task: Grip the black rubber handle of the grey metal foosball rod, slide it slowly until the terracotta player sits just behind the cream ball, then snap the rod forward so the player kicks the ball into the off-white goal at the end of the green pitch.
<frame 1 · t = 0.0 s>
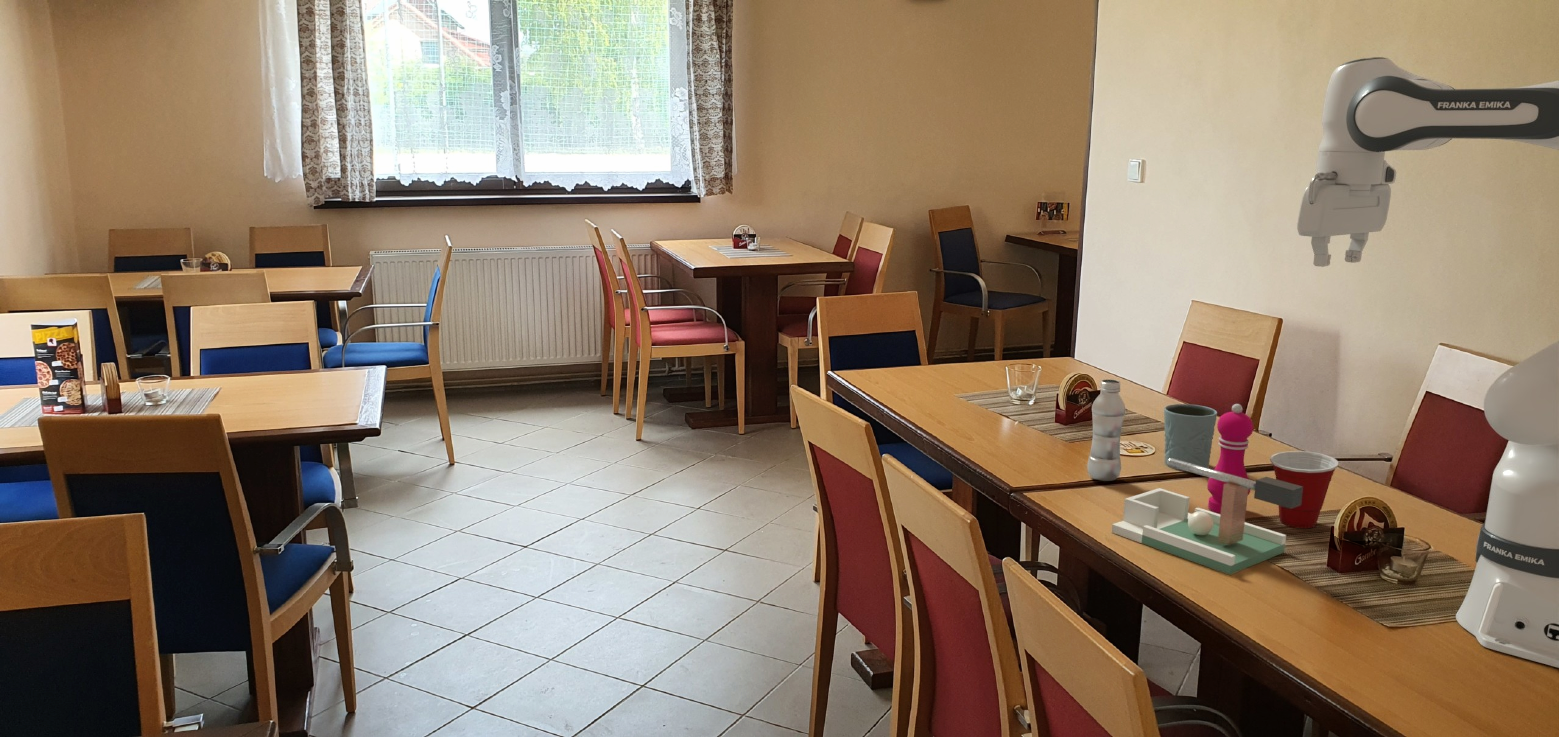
hand: (1337, 264, 162), 48 cm above the table, fingers open, 8 cm apart
ball: (1200, 523, 179), point 3 cm above the table, touching pitch
kicker rod: (1252, 511, 171), point 8 cm above the table, slide at 0.0 cm
pepper mill: (1226, 510, 196), on the table
plastic cup: (1296, 523, 189), on the table
pitch: (1195, 542, 180), on the table
plastic bottle: (1103, 480, 212), on the table
grey textured cup: (1185, 466, 222), on the table
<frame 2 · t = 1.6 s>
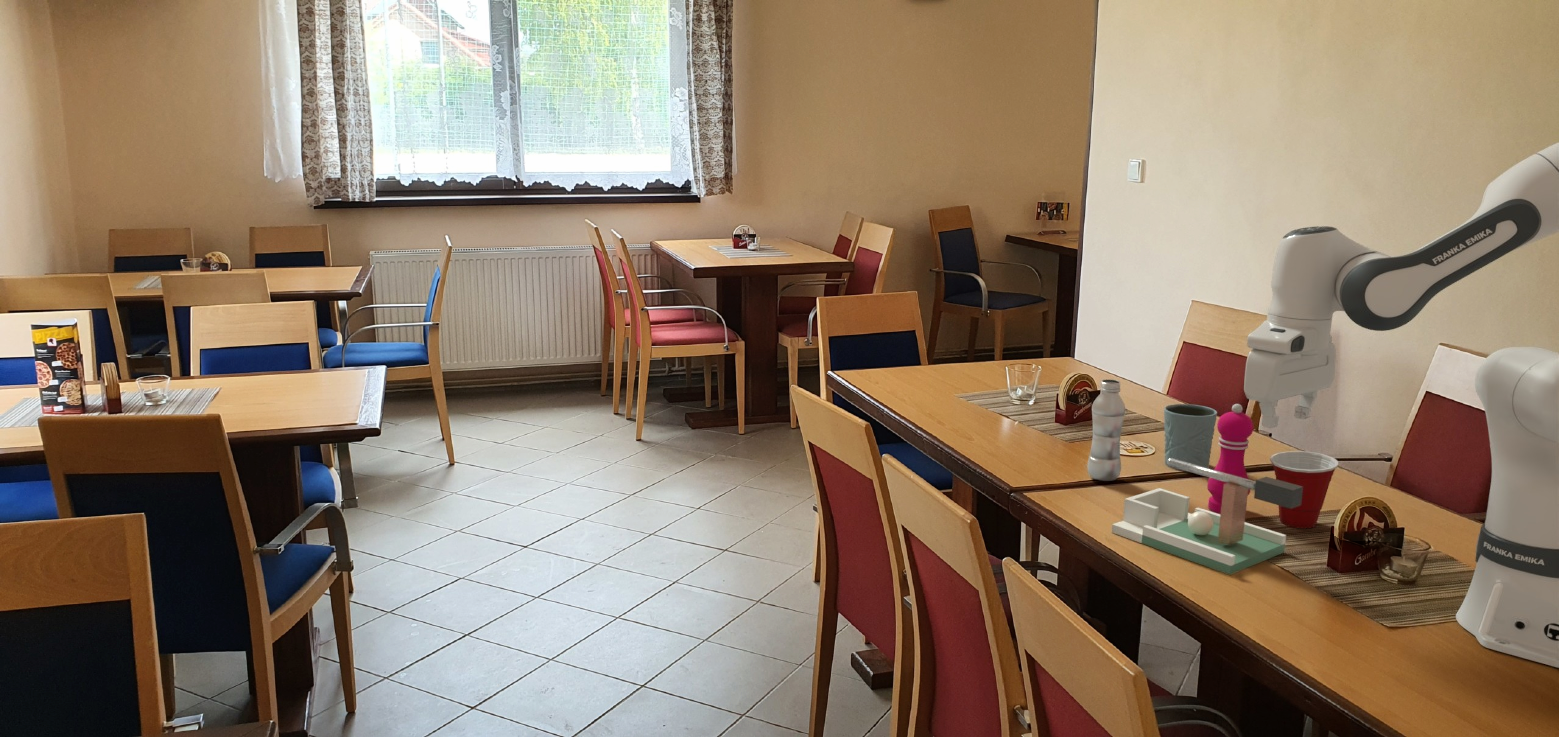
hand: (1285, 422, 165), 24 cm above the table, fingers open, 8 cm apart
nothing on the table moved.
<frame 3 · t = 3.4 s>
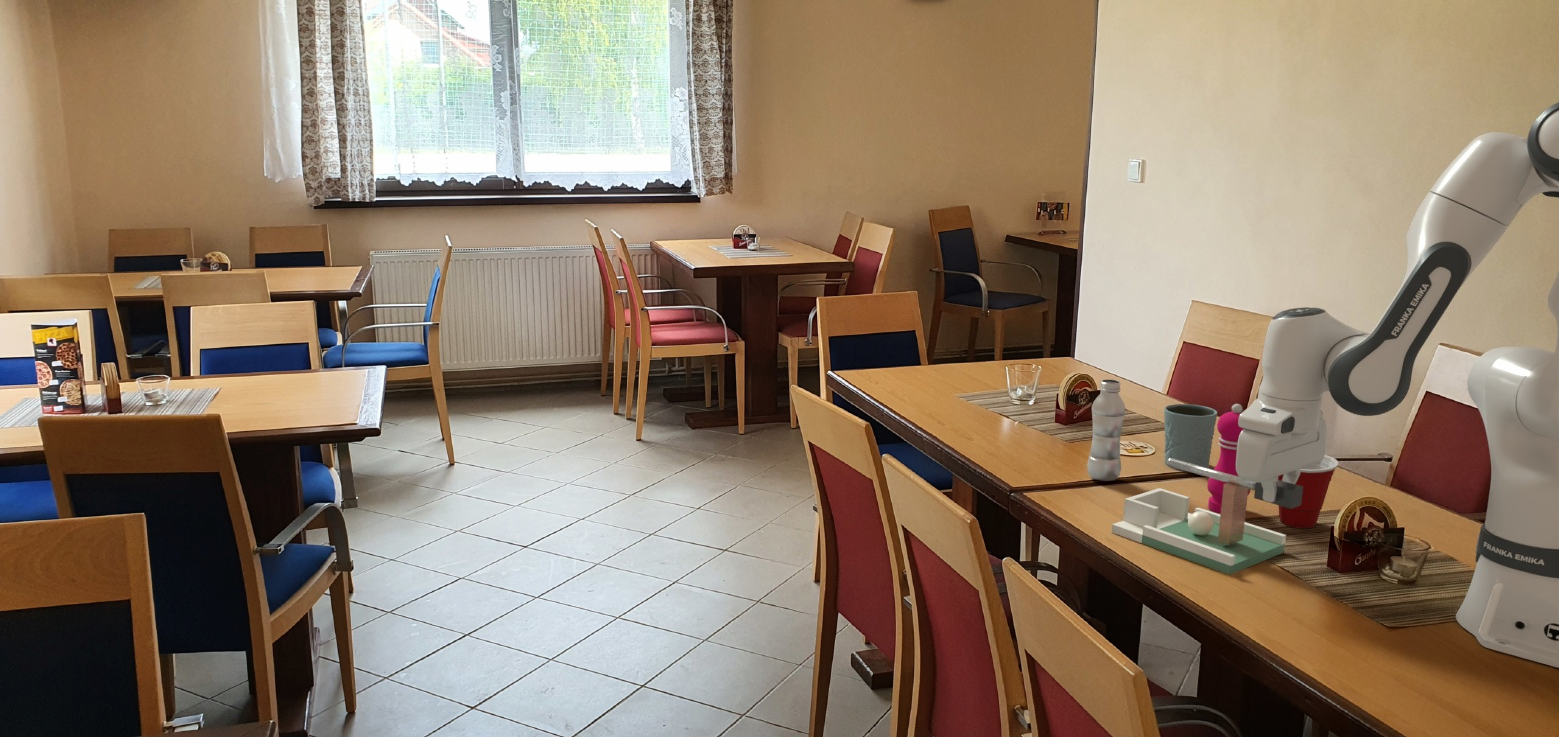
hand: (1277, 497, 167), 12 cm above the table, fingers closed on kicker rod, 3 cm apart
kicker rod: (1252, 511, 171), point 8 cm above the table, slide at 0.0 cm, touching gripper
everything else where it was.
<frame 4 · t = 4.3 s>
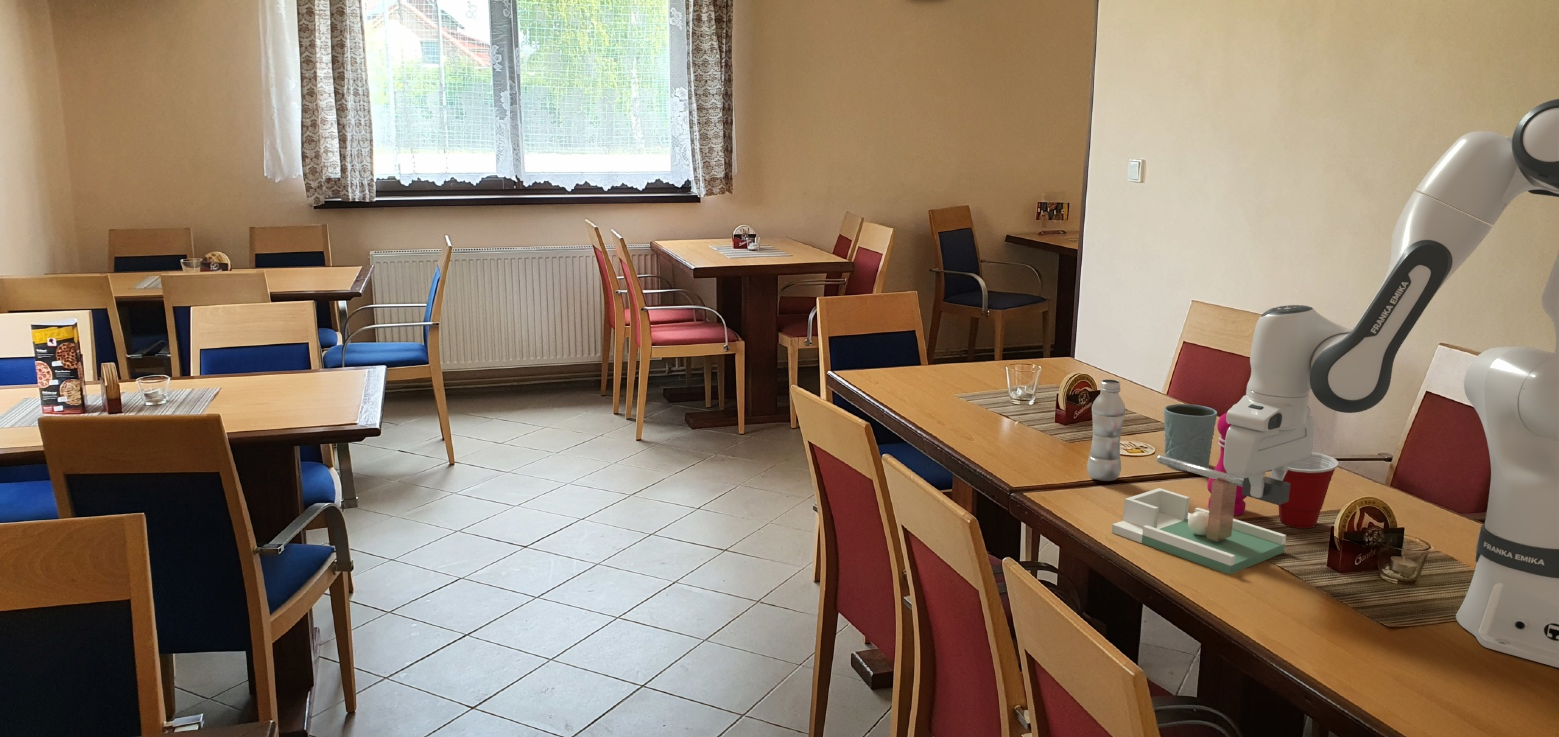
hand: (1265, 493, 169), 12 cm above the table, fingers closed on kicker rod, 3 cm apart
kicker rod: (1240, 508, 173), point 8 cm above the table, slide at 2.0 cm, touching gripper
everything else where it was.
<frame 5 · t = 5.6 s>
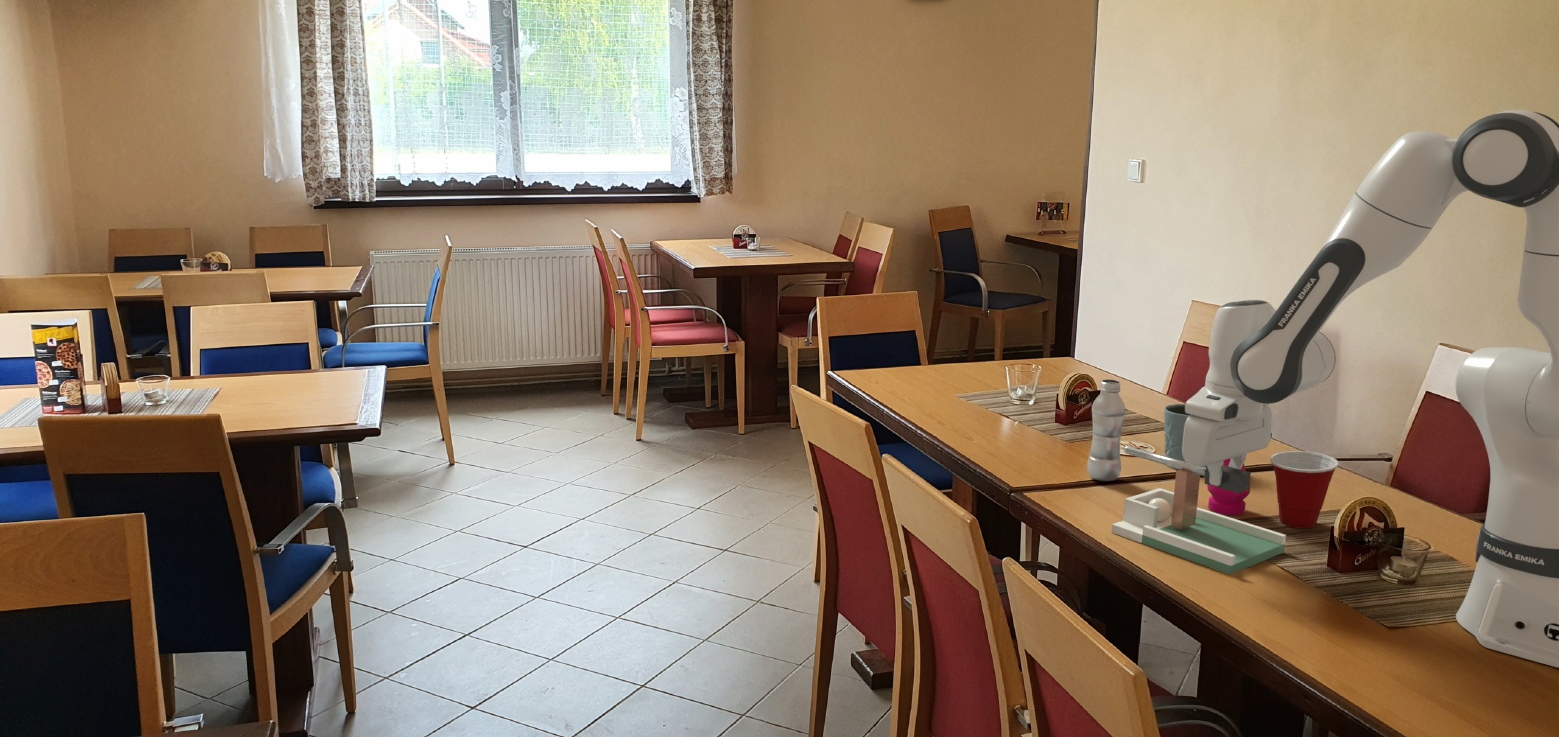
hand: (1224, 481, 174), 12 cm above the table, fingers closed on kicker rod, 3 cm apart
ball: (1158, 509, 185), point 3 cm above the table, tilted 140°, touching pitch
kicker rod: (1203, 497, 178), point 8 cm above the table, slide at 8.6 cm, touching gripper
everything else where it was.
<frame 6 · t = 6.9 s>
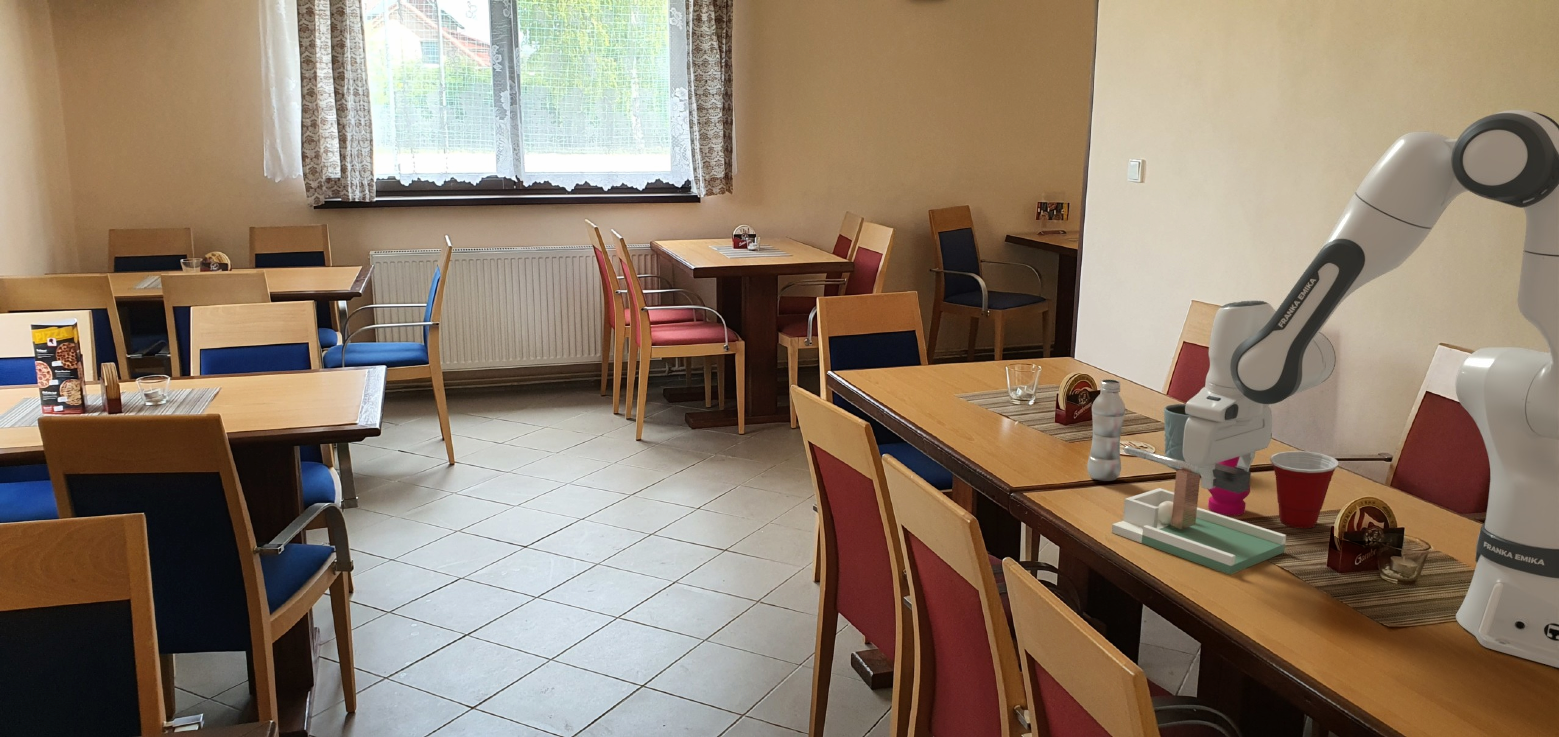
hand: (1224, 482, 174), 12 cm above the table, fingers open, 8 cm apart
ball: (1168, 512, 184), point 3 cm above the table, tilted 166°, touching pitch
kicker rod: (1203, 497, 178), point 8 cm above the table, slide at 8.6 cm
everything else where it was.
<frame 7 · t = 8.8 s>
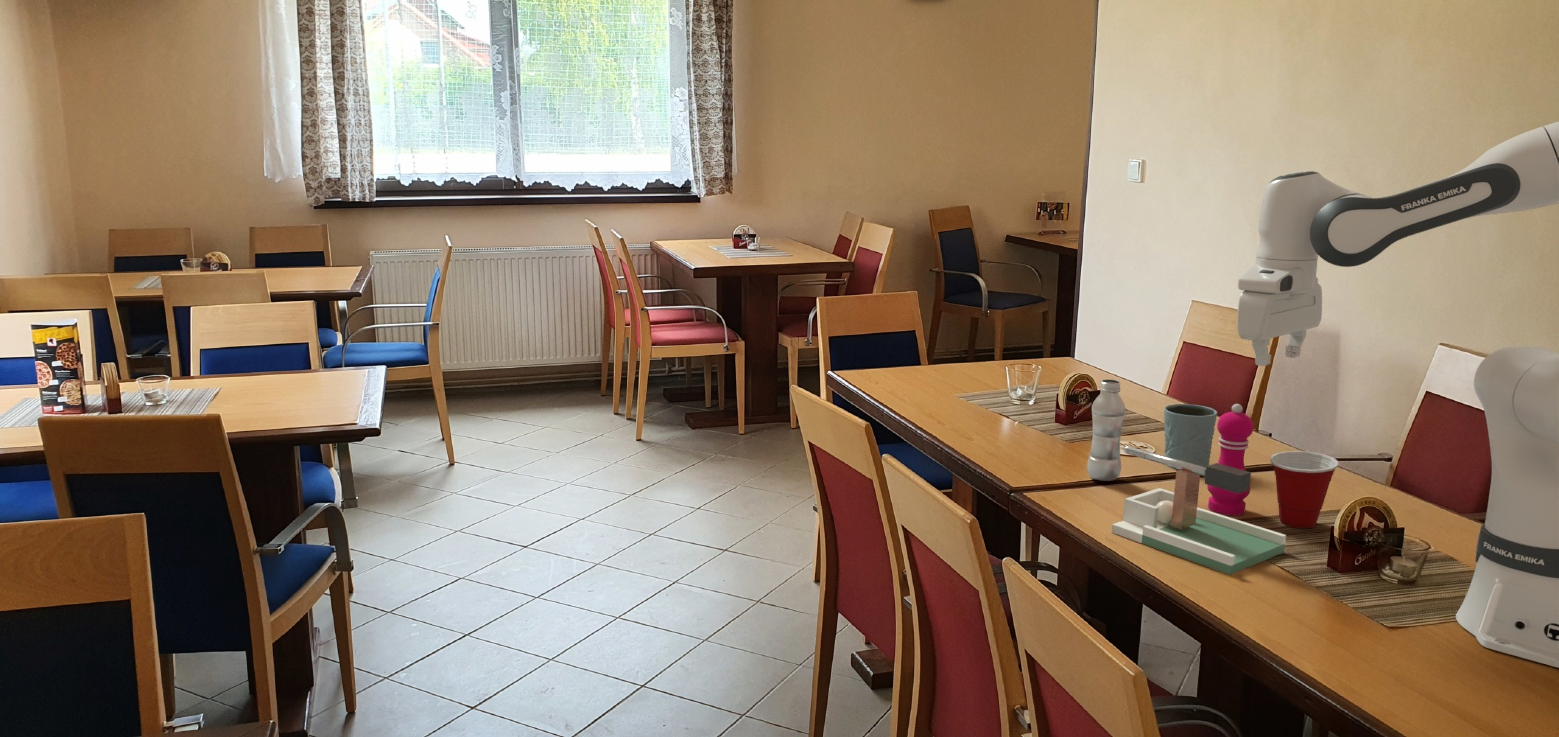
hand: (1277, 361, 172), 31 cm above the table, fingers open, 8 cm apart
ball: (1166, 512, 184), point 3 cm above the table, tilted 178°, touching pitch
everything else where it was.
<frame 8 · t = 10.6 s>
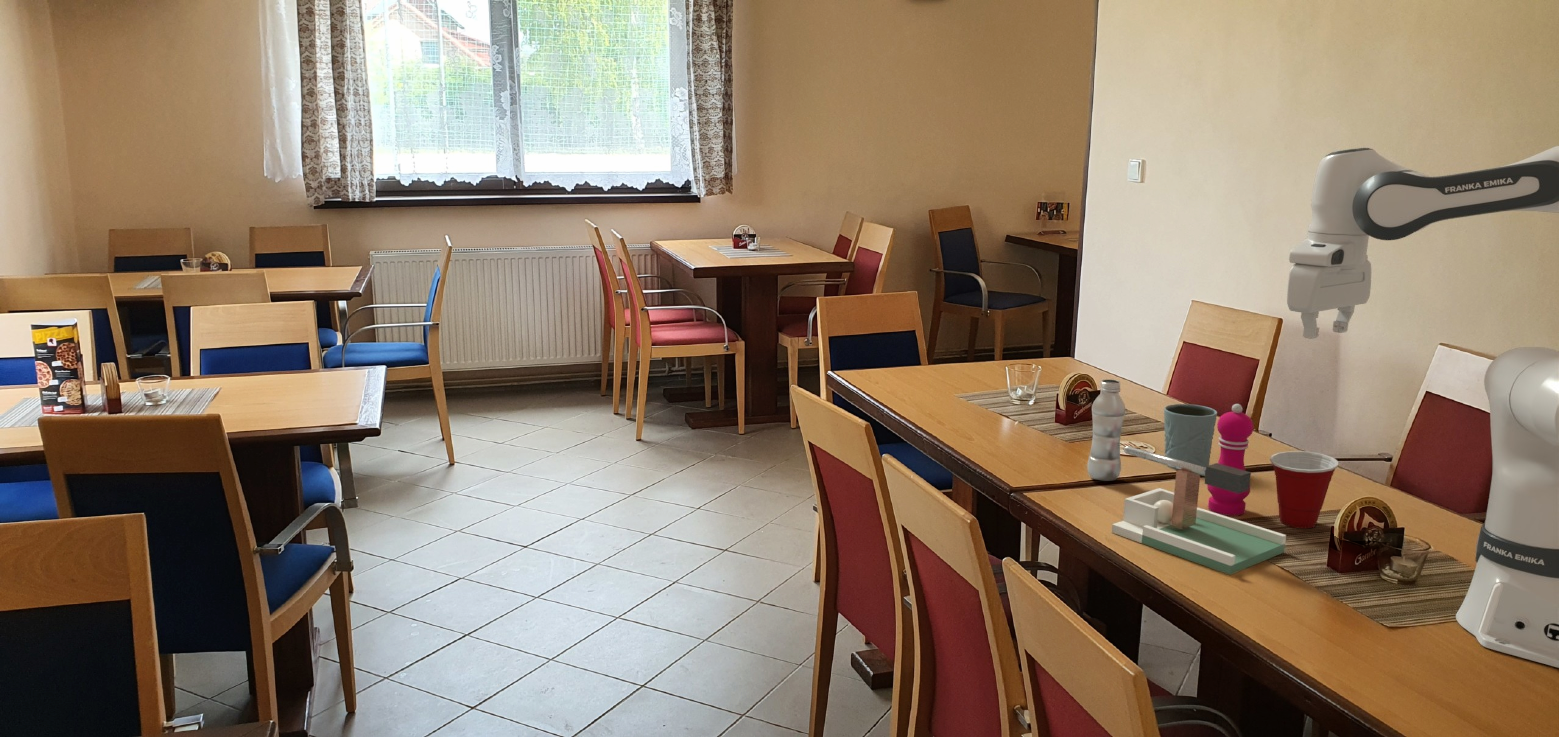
hand: (1325, 335, 175), 35 cm above the table, fingers open, 8 cm apart
ball: (1164, 511, 184), point 3 cm above the table, tilted 171°, touching pitch
everything else where it was.
at the end: ball inside the target area (1.0 cm from its centre), point 3.5 cm above the table; kicker rod slide at 8.6 cm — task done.
